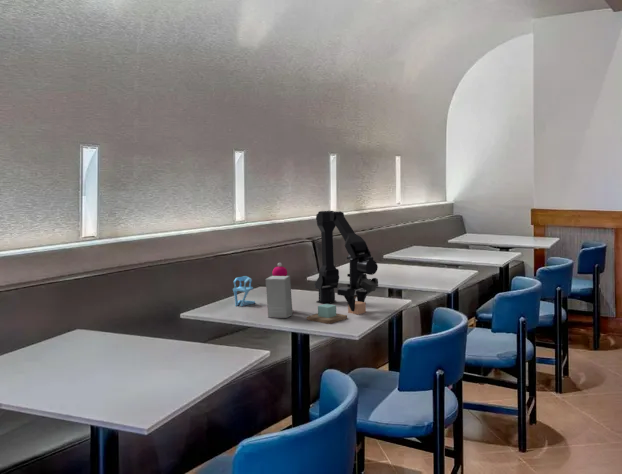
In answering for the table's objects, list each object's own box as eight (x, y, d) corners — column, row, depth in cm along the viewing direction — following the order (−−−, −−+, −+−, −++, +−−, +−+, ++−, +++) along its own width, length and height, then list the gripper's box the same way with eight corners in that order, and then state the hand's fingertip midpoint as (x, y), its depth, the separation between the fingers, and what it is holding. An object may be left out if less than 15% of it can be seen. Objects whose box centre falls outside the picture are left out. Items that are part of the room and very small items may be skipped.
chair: (230, 305, 257) (229, 277, 256) (239, 301, 265) (239, 274, 263) (246, 307, 254) (245, 278, 253) (255, 303, 262) (254, 275, 260)
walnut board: (306, 319, 230) (306, 316, 230) (324, 314, 239) (324, 311, 238) (329, 323, 223) (329, 320, 223) (347, 318, 231) (347, 315, 231)
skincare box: (292, 315, 238) (292, 275, 236) (286, 319, 231) (285, 278, 230) (273, 313, 241) (272, 274, 239) (265, 317, 234) (265, 277, 232)
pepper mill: (292, 310, 247) (291, 261, 245) (284, 313, 240) (283, 264, 238) (276, 308, 250) (276, 261, 248) (268, 312, 243) (267, 263, 241)
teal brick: (317, 316, 230) (317, 305, 230) (326, 313, 234) (326, 303, 234) (328, 318, 227) (327, 307, 227) (336, 315, 231) (336, 305, 231)
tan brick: (348, 312, 241) (348, 302, 241) (355, 310, 245) (355, 300, 244) (358, 314, 238) (358, 304, 237) (365, 312, 242) (365, 302, 241)
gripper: (359, 276, 227) (359, 317, 229) (386, 270, 242) (386, 308, 243) (336, 273, 235) (336, 313, 236) (363, 267, 249) (364, 305, 250)
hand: (356, 309), depth 241 cm, fingers closed on tan brick, 5 cm apart
